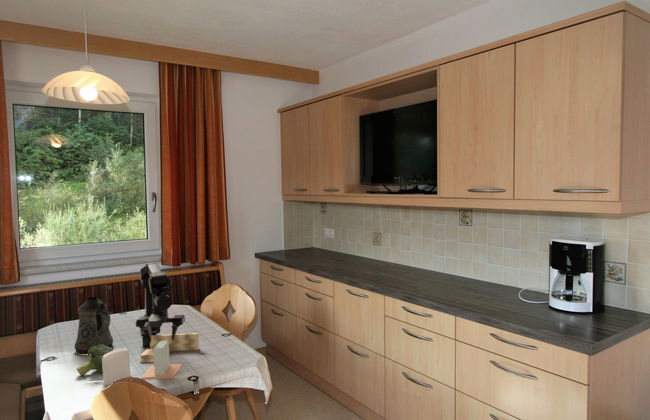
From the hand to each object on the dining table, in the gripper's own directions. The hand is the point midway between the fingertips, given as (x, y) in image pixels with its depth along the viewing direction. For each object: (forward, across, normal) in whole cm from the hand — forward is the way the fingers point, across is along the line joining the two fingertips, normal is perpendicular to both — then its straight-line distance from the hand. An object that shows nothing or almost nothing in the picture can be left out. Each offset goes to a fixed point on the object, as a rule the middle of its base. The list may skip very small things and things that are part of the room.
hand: (161, 340), depth 183 cm
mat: (+12, 0, -2) cm, 13 cm away
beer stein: (+13, -40, +30) cm, 51 cm away
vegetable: (+13, -27, +1) cm, 30 cm away
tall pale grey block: (+12, 0, -2) cm, 12 cm away
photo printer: (+13, -16, -8) cm, 22 cm away
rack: (+13, -1, +14) cm, 19 cm away
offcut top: (+11, -9, +12) cm, 18 cm away
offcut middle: (+12, -9, +12) cm, 19 cm away
